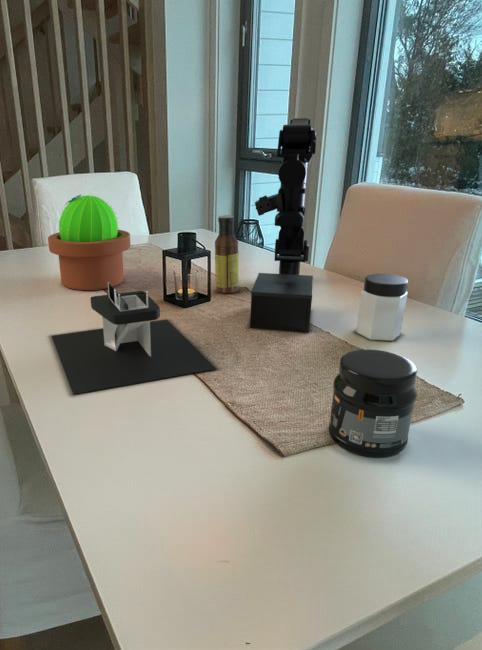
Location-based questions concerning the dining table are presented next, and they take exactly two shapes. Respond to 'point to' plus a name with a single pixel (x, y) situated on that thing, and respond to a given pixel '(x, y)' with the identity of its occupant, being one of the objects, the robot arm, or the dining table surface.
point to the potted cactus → (89, 245)
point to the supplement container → (373, 403)
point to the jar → (382, 307)
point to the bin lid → (283, 285)
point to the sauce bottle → (226, 257)
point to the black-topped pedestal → (126, 346)
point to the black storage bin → (280, 313)
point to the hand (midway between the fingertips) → (288, 250)
